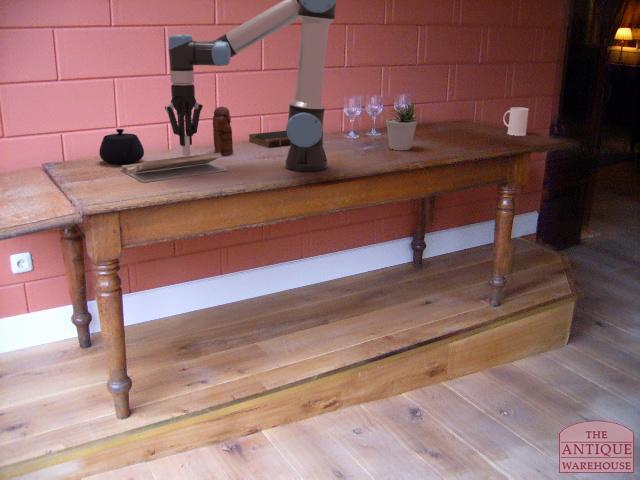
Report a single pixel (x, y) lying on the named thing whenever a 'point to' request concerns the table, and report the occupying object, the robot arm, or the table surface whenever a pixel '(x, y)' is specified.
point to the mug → (517, 121)
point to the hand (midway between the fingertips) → (186, 155)
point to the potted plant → (402, 129)
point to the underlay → (176, 172)
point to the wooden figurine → (222, 131)
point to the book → (270, 139)
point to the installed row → (129, 168)
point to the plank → (176, 162)
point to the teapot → (121, 148)
